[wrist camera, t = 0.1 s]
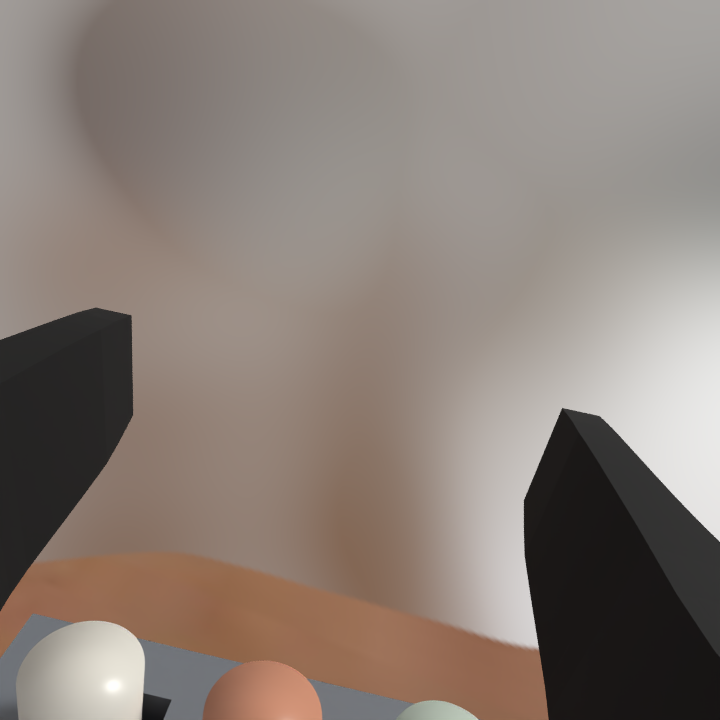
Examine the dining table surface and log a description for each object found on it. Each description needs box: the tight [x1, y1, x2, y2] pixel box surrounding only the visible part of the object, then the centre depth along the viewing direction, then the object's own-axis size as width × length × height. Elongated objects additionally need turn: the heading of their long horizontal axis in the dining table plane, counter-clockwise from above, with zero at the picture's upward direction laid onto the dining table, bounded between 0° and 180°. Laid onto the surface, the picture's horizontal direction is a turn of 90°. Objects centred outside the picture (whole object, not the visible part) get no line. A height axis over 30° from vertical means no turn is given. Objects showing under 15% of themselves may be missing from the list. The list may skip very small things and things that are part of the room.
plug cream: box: [16, 621, 145, 720], centre depth 22 cm, size 4×4×5 cm
